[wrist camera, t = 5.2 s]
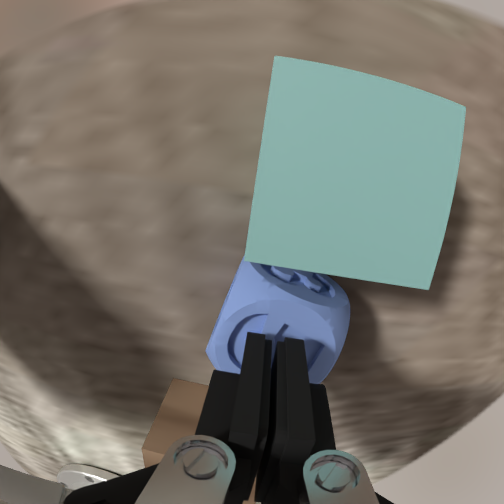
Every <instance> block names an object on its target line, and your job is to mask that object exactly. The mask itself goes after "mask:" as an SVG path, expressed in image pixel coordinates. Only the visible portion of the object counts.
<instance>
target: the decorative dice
mask: <svg viewBox="0 0 504 504" xmlns="http://www.w3.org/2000/svg"><path fill="white" fill-rule="evenodd" d="M244 257H245V255H244ZM244 257H243V259H242V261H241V263H240V266H239V268H238V270H237V273H236V275H235V277H234V280H233V282H232V285H231V287H230V289H229V292H228V294H227V297H226V299H225V302H224V304H223V307H222V309H221V312H220V314H219V317H218V319H217V322H216V324H215V327H214V329H213V332H212V335H211V337H210V340H209V343H208V345H207V348H206V353H207V355H208V357H209V359H210V361H211V363H212V364H213V366H214V367H215V368H216V370H220V371H225V372H231V373H237V374H240V371H241V365H242V360H243V354H244V348H245V342H246V337H247V332H253V333H260V334H265V335H266V336H265V339H267V340H272V356H271V367H272V363H273V358H274V354H275V349H276V344H277V341H281V342H284V339H285V337H287V338H295V339H302V340H304V344H305V351H306V359H307V367H308V376H309V383H313V384H320V383H321V382H322V381H323V380H324V379H325V378H326V376H327V375H328V374H329V372H330V371H331V369H332V368H333V366H334V364H335V363H336V361H337V359H338V357H339V355H340V353H341V350H342V348H343V345H344V342H345V339H346V336H347V332H348V327H349V322H350V303H349V299H348V297H347V294H346V293H345V291H344V290H343V289H342V288H341V287H340V286H339V285H338V284H337V283H336V282H335V281H334V280H333V279H331V278H330V277H329V276H327V275H326V274H322V273H316V272H310V271H303V270H297V269H291V268H285V267H279V266H272V265H266V264H260V263H254V262H248V261H244Z"/></svg>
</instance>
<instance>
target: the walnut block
mask: <svg viewBox="0 0 504 504" xmlns="http://www.w3.org/2000/svg"><path fill="white" fill-rule="evenodd" d="M208 387H209V386H208V385H203V384H198V383H193V382H188V381H184V380H179V379H175V378H173V380H172V382H171V384H170V387H169V389H168V391H167V393H166V395H165V398H164V400H163V402H162V404H161V406H160V409H159V411H158V413H157V415H156V418H155V420H154V422H153V424H152V426H151V429H150V431H149V433H148V435H147V438H146V440H145V442H144V444H143V447H142V453H143V459H144V465H145V468H147V467H149V466H152V465H155V464H158V463H160V462H161V460H162V458H163V457H164V455H165V453H166V452H167V450H168V448H169V447H170V446H171V445H172V444H173V443H174V442H175V441H177V440H178V439H180V438H182V437H186V436H190V435H195V432H196V428H197V425H198V421H199V418H200V415H201V411H202V408H203V404H204V401H205V398H206V394H207V391H208ZM255 485H256V478H255V481H254V484H253V488H252V491H251V494H250V497H249V500H248V501H243V504H255V503H256V502H254V496H255Z"/></svg>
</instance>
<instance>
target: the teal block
mask: <svg viewBox="0 0 504 504" xmlns="http://www.w3.org/2000/svg"><path fill="white" fill-rule="evenodd" d="M465 112H466V107H465V106H462V105H460V104H458V103H455V102H453V101H450V100H447V99H445V98H442V97H440V96H437V95H434V94H431V93H429V92H426V91H423V90H420V89H417V88H414V87H411V86H408V85H405V84H402V83H398V82H395V81H392V80H388V79H385V78H381V77H378V76H374V75H370V74H366V73H362V72H358V71H354V70H350V69H346V68H341V67H337V66H332V65H327V64H322V63H317V62H312V61H306V60H300V59H294V58H287V57H280V56H275V57H274V63H273V70H272V76H271V83H270V89H269V96H268V102H267V109H266V115H265V122H264V129H263V135H262V142H261V149H260V155H259V162H258V169H257V175H256V182H255V189H254V196H253V203H252V209H251V216H250V223H249V230H248V237H247V244H246V250H245V257H244V261H248V262H254V263H260V264H266V265H272V266H279V267H285V268H291V269H297V270H303V271H310V272H316V273H322V274H328V275H335V276H341V277H347V278H354V279H360V280H367V281H373V282H379V283H386V284H392V285H399V286H405V287H412V288H419V289H425V290H429V287H430V284H431V281H432V277H433V274H434V271H435V267H436V264H437V261H438V257H439V254H440V250H441V246H442V242H443V239H444V235H445V231H446V227H447V223H448V218H449V214H450V209H451V205H452V200H453V195H454V190H455V185H456V179H457V174H458V168H459V161H460V155H461V148H462V140H463V132H464V122H465Z"/></svg>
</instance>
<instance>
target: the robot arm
mask: <svg viewBox="0 0 504 504" xmlns="http://www.w3.org/2000/svg"><path fill="white" fill-rule="evenodd" d="M265 336H266V335H265V334H260V333H253V332H247V337H246V342H245V348H244V354H243V360H242V365H241V371H240V374H237V373H231V372H225V371H220V370H214V371H213V374H212V377H211V381H210V384H209V387H208V391H207V394H206V398H205V401H204V404H203V408H202V411H201V415H200V418H199V421H198V425H197V428H196V432H195V435H190V436H186V437H182V438H180V439H178V440H177V441H175V442H174V443H173V444H172V445H171V446H170V447H169V448H168V450H167V452H166V453H165V455H164V457H163V458H162V460H161V462H160V463H158V464H155V465H152V466H149V467H147V468H144V469H141V470H138V471H135V472H132V473H129V474H126V475H123V476H118V475H115V474H113V473H110V472H108V471H105V470H101V469H98V468H95V467H91V466H86V465H81V464H69V465H65V466H63V467H62V468H61V470H60V472H59V473H58V475H57V480H58V483H57V482H53V481H49V480H45V479H42V478H38V477H35V476H32V475H28V474H25V473H22V472H19V471H16V470H13V469H11V468H8V467H5V466H2V465H0V504H243V501H248V500H249V497H250V494H251V491H252V488H253V484H254V481H255V478H256V485H255V496H254V502H261V504H394V503H392V502H390V501H389V500H387V499H386V498H384V497H382V496H381V495H379V494H378V493H376V492H375V491H374V489H373V487H372V484H371V482H370V479H369V477H368V474H367V472H366V469H365V468H364V466H363V464H362V463H361V462H360V461H359V460H358V459H357V458H356V457H354V456H352V455H350V454H349V453H347V452H343V451H339V450H336V447H335V440H334V434H333V428H332V422H331V416H330V410H329V404H328V398H327V393H326V388H325V386H324V385H323V384H313V383H309V376H308V367H307V359H306V351H305V344H304V340H302V339H295V338H287V337H285V339H284V342H281V341H277V344H276V349H275V354H274V358H273V363H272V367H271V356H272V340H267V339H265Z"/></svg>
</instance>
